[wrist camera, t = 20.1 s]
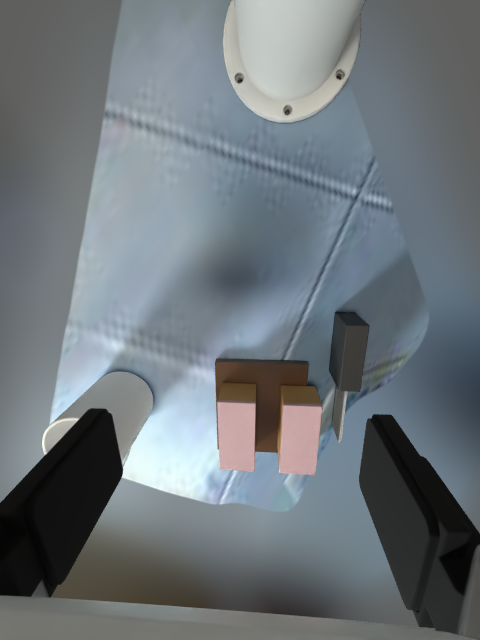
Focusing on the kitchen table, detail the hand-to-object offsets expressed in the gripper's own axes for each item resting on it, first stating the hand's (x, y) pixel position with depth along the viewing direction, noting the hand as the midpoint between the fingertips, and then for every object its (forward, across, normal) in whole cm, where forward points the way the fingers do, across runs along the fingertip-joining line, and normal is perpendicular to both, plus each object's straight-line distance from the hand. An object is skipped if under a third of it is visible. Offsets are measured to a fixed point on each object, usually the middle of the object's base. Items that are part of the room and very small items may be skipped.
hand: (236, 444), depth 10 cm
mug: (+26, +18, +17) cm, 36 cm away
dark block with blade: (+26, -11, +11) cm, 30 cm away
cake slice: (+24, -6, +17) cm, 30 cm away
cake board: (+25, -1, +16) cm, 30 cm away
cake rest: (+24, +2, +17) cm, 30 cm away
